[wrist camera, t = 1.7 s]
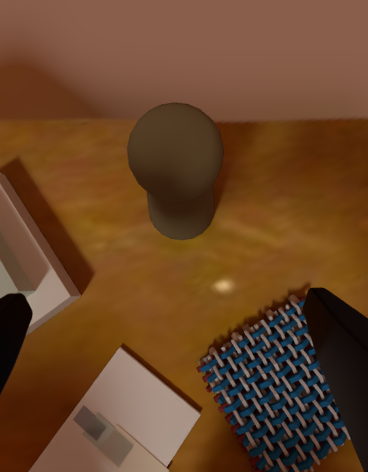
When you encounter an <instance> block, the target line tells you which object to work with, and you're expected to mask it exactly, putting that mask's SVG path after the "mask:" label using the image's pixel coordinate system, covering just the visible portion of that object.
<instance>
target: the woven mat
mask: <svg viewBox="0 0 368 472" xmlns="http://www.w3.org/2000/svg"><path fill="white" fill-rule="evenodd" d="M288 300H289V301H290V302H291V304H289V305H288V304H287V305H286V308H285V309H284V308H283V307H282V306H281V307H280V308H278V311H279V313H277V311H275V312H272V311H271V310H270V309H269V310H268V311H267V312H266V316H267V319H268V321H266V322H264V320H263V319H262V320H261V321H258V322H257V324H255V325H254V327H255V329H254V328H253V327H249V325H248V324H247V325H245V326H244V327H242V329H243V331H244V333H245V334H246V335H244V336H241V335H240V334H239V333H238V332H233V334H232V335H231V337H232V339H233V340H231V342H232V343H230V342H227V343H225V344H224V345H222V346H223V347H222V348H221V349H222V351H221V352H219V353H218V352H217V351H216V350H215V349H214V347H212V348H210V349H209V355H210V356H211V357H212V358H211V357H210V356H209V355H208V356H207V358H208V360H207V358H206V357H205V358H204V357H203V358H202V359H201V360H199V361H198V362H199V364H200V366H199V367H197V371H198V372H201V371H202V372H204V373H205V376H203V377H202V379H203V381H204V382H207V381H208V382H209V383H210V384H209V385H208V386H207V387H206V390H207V392H209V393H210V392H211V391H212V390H213V392H214V393H216V394H217V395H216V396H215V397H214V400H215V402H216V403H217V402H218V401H219V403H220V404H223V405H221V406H220V407H219V408H218V410H219V411H220V412H222V411H225V412H226V414H227V413H228V415H227V416H226V417H225V419H226V421H227V422H228V423H229V422H231V424H232V425H234V426H232V427H231V430H232V432H233V434H235V433H236V432H237V433H238V435H240V436H238V437H237V441H238V442H239V444H242V443H243V446H242V450H243V452H247V451H249V452H248V453H249V454H250V456H251V457H252V458H251V459H250V460H249V461H250V463H251V465H252V467H253V466H255V465H256V466H257V468H256V469H255V472H300V471H303V470H304V472H307V471H308V470H307V469H309V470H310V471H311V472H313V471H314V469H313V467H312V464H313V462H314V460H315V462H316V464H318V465H320V461H319V459H325V458H326V455H327V453H332V451H331V449H330V447H332V448H333V450H334V452H336V451H338V450H337V448H336V446H339V445H341V446H343V445H344V442H345V439H346V437H348V439H349V440H350V436H349V434H348V432H347V429H346V427H345V424H344V422H343V420H342V417H341V415H340V413H339V410H338V408H337V405H336V403H335V401H334V398H333V396H332V394H331V391H330V389H329V386H328V384H327V382H326V379H325V377H324V374H323V372H322V370H321V367H320V365H319V362H318V359H317V356H316V353H315V350H314V347H313V343H312V340H311V337H310V333H309V332H308V331H309V330H308V327H307V323H306V320H305V317H304V313H303V305H304V302H305V298H304V296H303V297H301V298H299V299H298V298H297V297H296V296H295V295H294V294H293V295H290V296H289V298H288ZM295 312H297V314H296V315H295V314H294V313H295ZM290 315H291V316H292V318H291V317H290ZM282 319H284V321H285V322H284V321H283V320H282ZM301 321H303V322H302V323H301ZM279 322H280V323H281V324H280V323H279ZM271 327H274V329H271V330H270V328H271ZM286 331H287V333H286ZM306 332H308V333H306ZM259 336H261V337H260V338H259ZM278 337H280V339H278V340H276V339H277V338H278ZM293 340H294V342H293V343H292V341H293ZM249 342H251V345H250V346H247V344H248V343H249ZM309 342H310V343H311V344H309ZM265 345H267V348H266V347H265ZM284 346H286V348H285V349H283V348H282V347H284ZM235 350H237V352H238V354H237V353H236V352H235ZM299 350H300V352H298V351H299ZM255 352H257V353H258V354H256V355H255V356H253V354H252V353H255ZM291 355H292V357H291ZM272 356H273V357H272ZM290 357H291V358H290ZM225 358H227V359H228V361H226V362H225V363H224V361H223V359H225ZM242 361H243V362H244V363H242ZM262 361H263V363H262V364H261V362H262ZM259 364H261V365H259ZM277 364H278V365H277ZM216 365H217V367H216ZM212 367H213V369H214V370H213V369H212ZM231 367H233V369H234V370H232V371H231V372H230V371H229V370H230V368H231ZM247 370H249V371H247ZM311 370H312V371H311ZM221 375H223V376H221ZM304 375H305V376H304ZM303 376H304V377H303ZM217 377H218V378H217ZM235 379H236V381H235ZM274 381H275V383H274ZM227 385H229V386H227ZM244 387H245V389H244V390H243V391H241V390H242V389H243V388H244ZM224 388H225V389H224ZM259 390H261V391H262V392H260V391H259ZM233 395H234V397H233ZM229 397H230V399H229ZM287 401H288V402H287ZM286 402H287V403H286ZM256 407H257V409H256ZM255 409H256V410H255ZM254 410H255V411H254ZM272 411H274V412H272ZM245 416H246V417H245ZM259 421H260V422H259ZM340 429H341V430H340ZM319 430H321V432H319ZM339 431H340V433H339ZM338 433H339V435H338ZM289 437H290V439H289ZM257 445H258V446H257ZM287 468H290V469H289V470H288V469H287Z"/></svg>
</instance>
